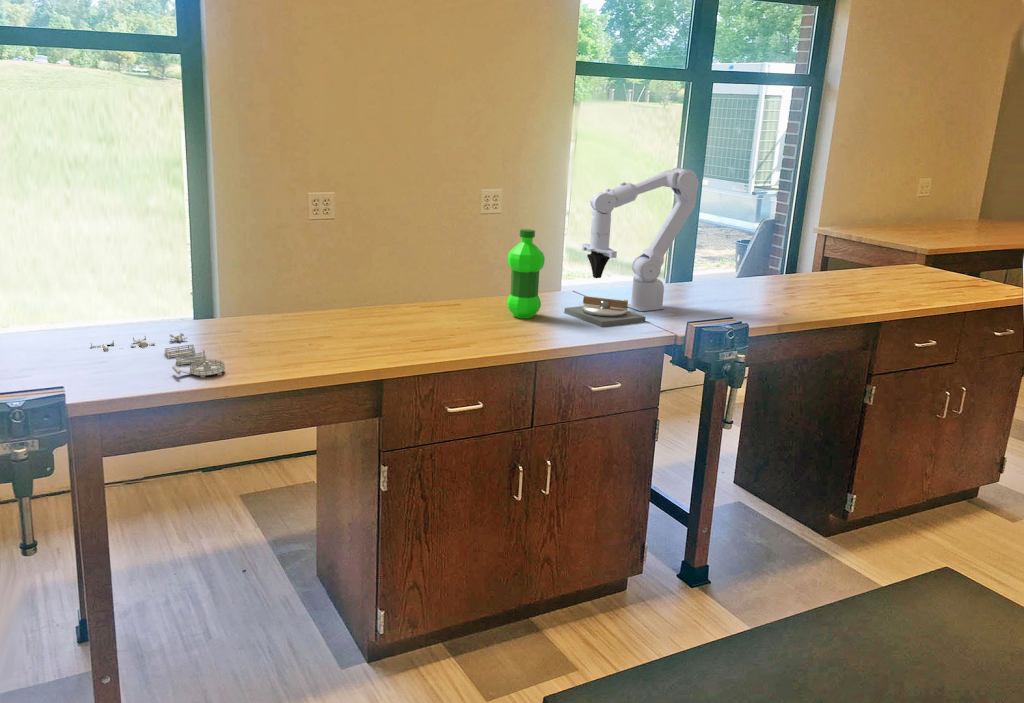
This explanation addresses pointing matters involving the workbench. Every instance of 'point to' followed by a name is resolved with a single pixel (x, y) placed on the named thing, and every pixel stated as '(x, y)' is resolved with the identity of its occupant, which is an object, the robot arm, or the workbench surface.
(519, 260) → the plastic bottle
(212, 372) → the drone parts
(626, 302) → the dial
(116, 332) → the workbench surface
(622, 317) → the stand plate
